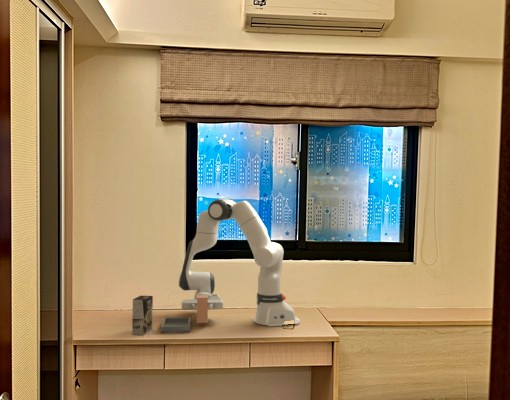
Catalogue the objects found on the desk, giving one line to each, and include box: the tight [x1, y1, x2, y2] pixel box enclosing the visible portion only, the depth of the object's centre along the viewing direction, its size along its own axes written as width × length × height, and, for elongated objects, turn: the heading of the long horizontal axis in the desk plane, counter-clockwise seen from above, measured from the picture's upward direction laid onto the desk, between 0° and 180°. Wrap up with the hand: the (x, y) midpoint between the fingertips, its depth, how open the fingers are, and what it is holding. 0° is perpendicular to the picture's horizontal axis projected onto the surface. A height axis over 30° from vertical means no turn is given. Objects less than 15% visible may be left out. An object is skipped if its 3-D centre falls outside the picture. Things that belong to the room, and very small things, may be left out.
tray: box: [160, 316, 192, 334], centre depth 247 cm, size 13×16×3 cm
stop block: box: [196, 295, 209, 324], centre depth 250 cm, size 5×5×12 cm
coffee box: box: [131, 295, 154, 336], centre depth 239 cm, size 9×6×16 cm
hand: (202, 308), depth 250 cm, fingers closed on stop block, 5 cm apart
